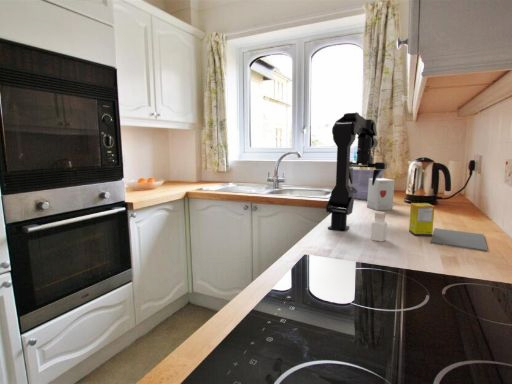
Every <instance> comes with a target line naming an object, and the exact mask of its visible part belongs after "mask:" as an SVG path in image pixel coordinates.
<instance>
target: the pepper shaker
mask: <svg viewBox="0 0 512 384" xmlns="http://www.w3.org/2000/svg"><path fill="white" fill-rule="evenodd" d="M385 218H386V212H385V211H384V212H383V211H375V212H374V220H373V221H372V222H371V226H370V227H371V230H370V231H371V233H370V240H372V241H375V242H380V243H382V242H384V241H386V240H387V229H388V222H386V221H385Z"/></svg>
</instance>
